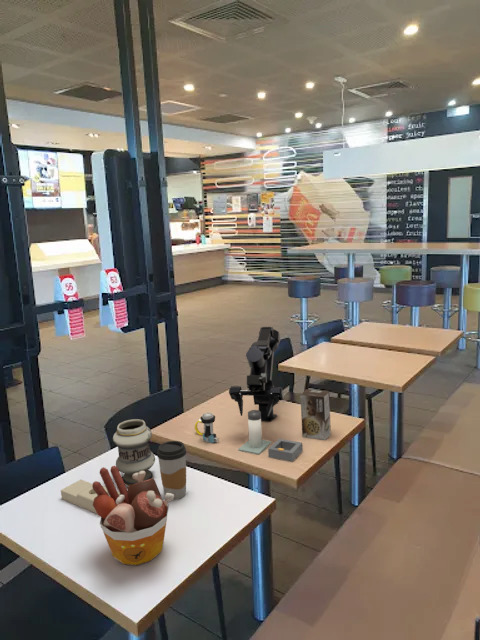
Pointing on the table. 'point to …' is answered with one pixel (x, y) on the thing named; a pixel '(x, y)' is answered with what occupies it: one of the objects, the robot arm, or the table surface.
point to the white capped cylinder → (254, 428)
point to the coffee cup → (173, 468)
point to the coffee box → (315, 414)
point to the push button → (208, 427)
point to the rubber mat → (255, 450)
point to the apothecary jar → (133, 450)
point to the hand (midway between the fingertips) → (254, 415)
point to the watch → (197, 428)
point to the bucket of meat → (131, 516)
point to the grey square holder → (285, 450)
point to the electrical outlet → (81, 494)
